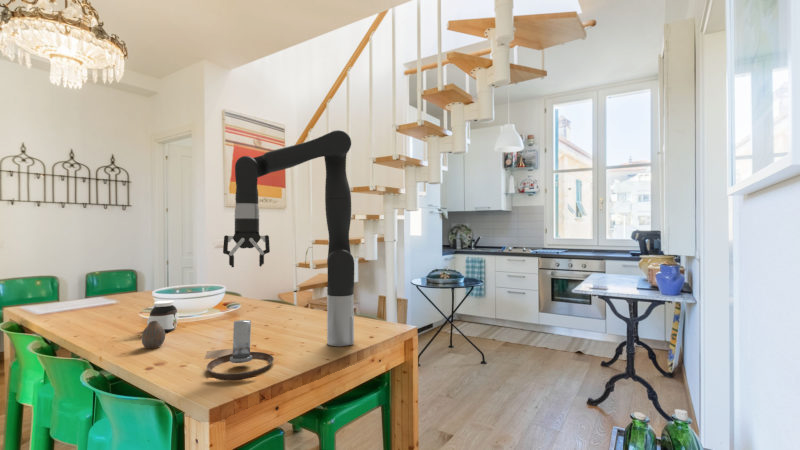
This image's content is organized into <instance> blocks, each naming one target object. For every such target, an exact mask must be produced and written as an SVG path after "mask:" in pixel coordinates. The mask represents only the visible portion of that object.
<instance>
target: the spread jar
mask: <svg viewBox="0 0 800 450" xmlns="http://www.w3.org/2000/svg"><path fill="white" fill-rule="evenodd" d="M174 303H175V301H174V300H158V301H155V302H153V307H152V309H151V310H150V312H149V316H148V319H147V322H146V325H147V326H148V324H149V322H151V321H158V323H159V324H160V325H161V326H162V327H163V329H164V331H165V334H166V333H171V332H173V331H175V329H176V328H177V326H178V325H177V324H178V309H177V307H176V306H175V305H174ZM170 331H171V332H170Z"/></svg>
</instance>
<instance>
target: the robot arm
mask: <svg viewBox="0 0 800 450" xmlns="http://www.w3.org/2000/svg"><path fill="white" fill-rule="evenodd" d="M351 147H352V139H351V137H350V135H349V134H348V132H346V131H343V130H341V129H335V130H331V131H330V132H328V133H326V134H324V135H322V136H319V137H316V138H314V139H312V140H308V141H305V142H302V143H301V142H300V143H297V144H294V145H293V144H292V145H290V146H285V147H282V148H278V149H273V150H270V151H267V152H265V153H263V154H262V155H259V156H255V157H252V156H248V155H243V156H241V157H239V158H238V159H237V160H236V161H235V166H234V176H235V187H236V188H235V207H234V235H223V248H222V253H223V254H225V255H227V256H228V260H229V261H228V265H229V266H230V267H231V268H234V267H235V255H234V254H235V253H236V251H238V250H239V248H240V249H253V248H255V249H256V251H257V252H258V253H259V257H258V258H259V259H258V261H259V263H258V265H259V267H262V266H263V265H264V264H265V255H266V254H269V253H270V252H271V251H270V250H271V249H270V236H269V235H268V234H266V235H260V209H259V189H258V179H259V178H260V177H264V176H266V175H268V174H271V173H275V172H279V171H284V170H287V169H290V168H293V167H296V166H299V165H301V164H304V163H306V162H309V161H311V160H315V159H317V158H322V157H324V163H325V183H324V184H325V185H324V186H325V190H324V191H325V193H324V195H325V196H324V198H325V199H324V202H325V203H324V204H325V205H324V206H325V208H324V209H325V218H326V225H327V231H328V250H327V251H328V252H327V253H328V254H327V258H326V259H327V261H326V264H327V285H326V286H327V287H326V291H327V293H326V296H327V298H326V299H327V301H326V303H327V308H326V310H327V314H326V315H327V316H326V318H327V319H326V324H327V325H326V328H327V331H326V334H327V335H326V336H327V337H326V338H327V339H326V340H327V345H328V346H332V347H345V346H353V345H354V341H355V314H354V288H355V259H354V256H353V255H352V253H351V252H352V251H351V246H350V245H351V244H350V230H351V229H350V227H351V219H352V195H351V188H350V185H349V181H348V180H349V179H348V177H347V168H346V167H347V154H348V153H349V152H350V149H351ZM232 240H233V241H234V242H235V245H234V247H232V249H231V250H228V249H229V243H230V242H232ZM260 240H262V241H263V243H264V246H265V247H264V248H265V249H263V250H262V248H261V247H260V246H259V244H258V243H259V242H260Z"/></svg>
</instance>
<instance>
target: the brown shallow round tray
mask: <svg viewBox="0 0 800 450" xmlns="http://www.w3.org/2000/svg"><path fill="white" fill-rule="evenodd" d="M250 355H252V359H257V360H258V359H259V360H264V361H267V362H268V363H269V364H266V365H265V366H263V367H260V368H257V369H253V370H249V371H245V372H243V371H242V372H234V373H233V372H231V373H222V372H215V371H214V370H213V369H214V368H215V367H217V366H219V365H221V364H224V363H228V362H230V357H232V356H233V354H229V355H225V356H222V357H218V358H213V359H212V360H210V361H209V362H208V363H207V365H206V370H207V371H208V373H210V375H211V376H213V377H214V379H217V380H221V381H228V382H229V381H231V382H232V381H241V380H243V381H244V380H246V379H247V380H248V379H252V378H256V375H258V374H259V373H263V372H264V371H267V370H268V369H269V368H270V367H271V366H272V364H273V363H274V361H275V357H274V356H273V355H272V354H270V353H266V352H262V351H250Z"/></svg>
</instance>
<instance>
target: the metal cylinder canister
mask: <svg viewBox="0 0 800 450" xmlns="http://www.w3.org/2000/svg"><path fill="white" fill-rule="evenodd" d="M251 330H252V321H251V320H250V319H239V320H235V321H233V330H232V331H233V333H232V349H233V356H232V357H230V361H229V362H230V363H232V364H242V363H247V362H251V361H252V360H253V358H252V355H250V352H251V336H252V335H251V334H252V331H251Z"/></svg>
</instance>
